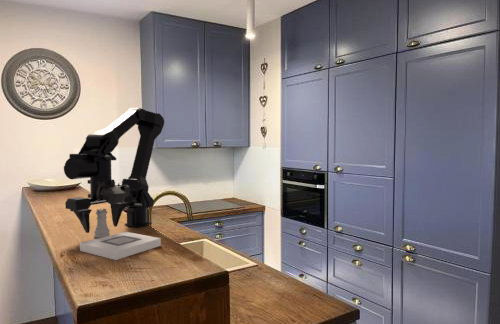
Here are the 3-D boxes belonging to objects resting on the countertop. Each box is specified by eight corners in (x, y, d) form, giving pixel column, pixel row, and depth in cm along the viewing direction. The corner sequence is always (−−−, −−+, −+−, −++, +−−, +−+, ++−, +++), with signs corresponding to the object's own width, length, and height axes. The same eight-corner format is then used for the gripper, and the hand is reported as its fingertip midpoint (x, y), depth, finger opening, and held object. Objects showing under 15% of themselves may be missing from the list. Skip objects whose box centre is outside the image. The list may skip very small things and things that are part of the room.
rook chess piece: (93, 235, 105) (93, 208, 105) (109, 233, 107) (109, 207, 106) (93, 239, 101) (93, 211, 100) (110, 237, 103) (109, 210, 102)
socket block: (125, 238, 101) (125, 231, 101) (160, 245, 94) (160, 237, 94) (79, 250, 89) (79, 242, 89) (115, 260, 82) (115, 251, 82)
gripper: (88, 180, 91) (89, 240, 91) (145, 175, 107) (145, 226, 107) (63, 178, 97) (64, 234, 97) (120, 173, 112) (121, 222, 113)
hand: (101, 229), depth 104 cm, fingers open, 9 cm apart
